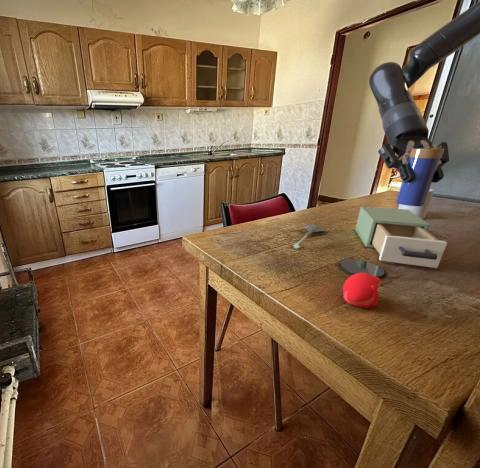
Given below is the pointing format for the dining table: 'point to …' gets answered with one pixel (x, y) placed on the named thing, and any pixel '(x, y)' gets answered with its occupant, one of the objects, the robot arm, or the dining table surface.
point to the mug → (419, 210)
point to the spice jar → (420, 176)
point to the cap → (361, 290)
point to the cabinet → (384, 221)
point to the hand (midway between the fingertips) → (423, 180)
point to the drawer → (407, 245)
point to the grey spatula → (311, 229)
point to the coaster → (362, 267)
